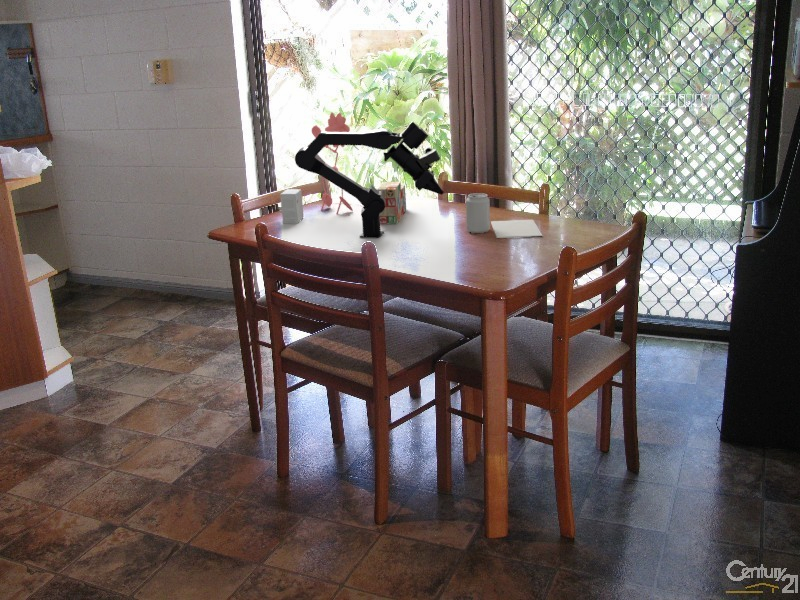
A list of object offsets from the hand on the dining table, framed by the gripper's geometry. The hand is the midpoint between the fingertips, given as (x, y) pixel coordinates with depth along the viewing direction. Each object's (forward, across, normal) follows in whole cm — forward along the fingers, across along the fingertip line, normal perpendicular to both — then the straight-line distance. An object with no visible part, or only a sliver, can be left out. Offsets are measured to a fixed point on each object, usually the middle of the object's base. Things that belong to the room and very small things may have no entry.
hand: (442, 193), depth 255 cm
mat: (+25, 0, -7) cm, 26 cm away
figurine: (-16, +39, +34) cm, 55 cm away
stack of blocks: (-3, +25, +21) cm, 33 cm away
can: (+17, 0, +1) cm, 17 cm away
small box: (-28, +24, +46) cm, 59 cm away
